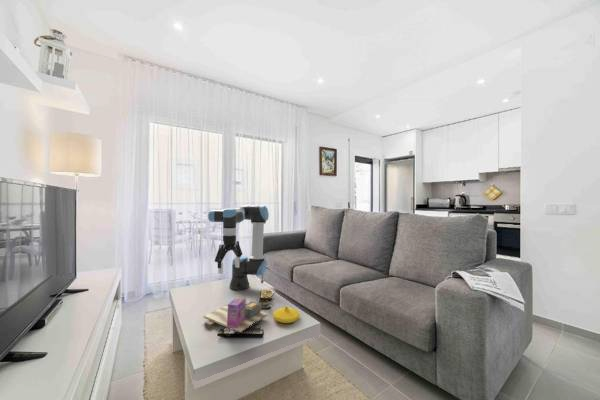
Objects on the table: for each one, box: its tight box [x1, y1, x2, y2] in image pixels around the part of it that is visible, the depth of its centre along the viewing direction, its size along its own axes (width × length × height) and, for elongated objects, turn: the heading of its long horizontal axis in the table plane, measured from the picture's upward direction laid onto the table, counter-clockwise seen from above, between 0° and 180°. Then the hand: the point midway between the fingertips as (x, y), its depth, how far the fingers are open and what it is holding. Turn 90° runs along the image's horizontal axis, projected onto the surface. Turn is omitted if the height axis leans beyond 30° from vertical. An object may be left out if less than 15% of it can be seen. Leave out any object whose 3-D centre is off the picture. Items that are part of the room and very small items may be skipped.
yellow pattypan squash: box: [272, 306, 301, 324], centre depth 142 cm, size 16×16×7 cm
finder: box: [245, 300, 262, 319], centre depth 140 cm, size 9×7×5 cm
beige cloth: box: [203, 304, 269, 333], centre depth 138 cm, size 25×28×4 cm
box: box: [226, 296, 247, 328], centre depth 130 cm, size 10×6×12 cm, turn 169°
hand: (229, 270), depth 145 cm, fingers open, 13 cm apart
